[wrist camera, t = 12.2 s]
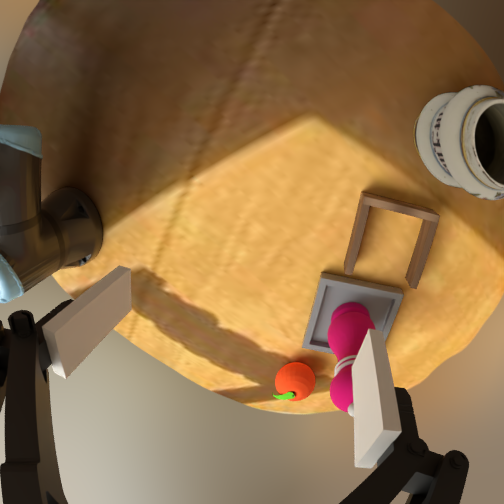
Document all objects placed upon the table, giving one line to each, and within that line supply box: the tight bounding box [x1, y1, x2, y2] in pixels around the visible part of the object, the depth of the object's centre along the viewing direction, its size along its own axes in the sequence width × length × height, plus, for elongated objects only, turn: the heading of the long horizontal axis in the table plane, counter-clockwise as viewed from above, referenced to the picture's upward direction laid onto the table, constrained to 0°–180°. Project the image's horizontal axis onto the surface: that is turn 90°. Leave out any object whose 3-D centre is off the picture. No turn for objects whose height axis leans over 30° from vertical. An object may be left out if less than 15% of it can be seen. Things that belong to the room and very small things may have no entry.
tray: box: [302, 272, 404, 354], centre depth 48 cm, size 13×13×2 cm
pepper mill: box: [327, 302, 376, 417], centre depth 39 cm, size 7×7×20 cm
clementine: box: [272, 362, 316, 401], centre depth 52 cm, size 8×7×7 cm
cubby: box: [344, 192, 440, 289], centre depth 42 cm, size 11×11×4 cm
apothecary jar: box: [414, 85, 504, 200], centre depth 29 cm, size 12×12×18 cm
